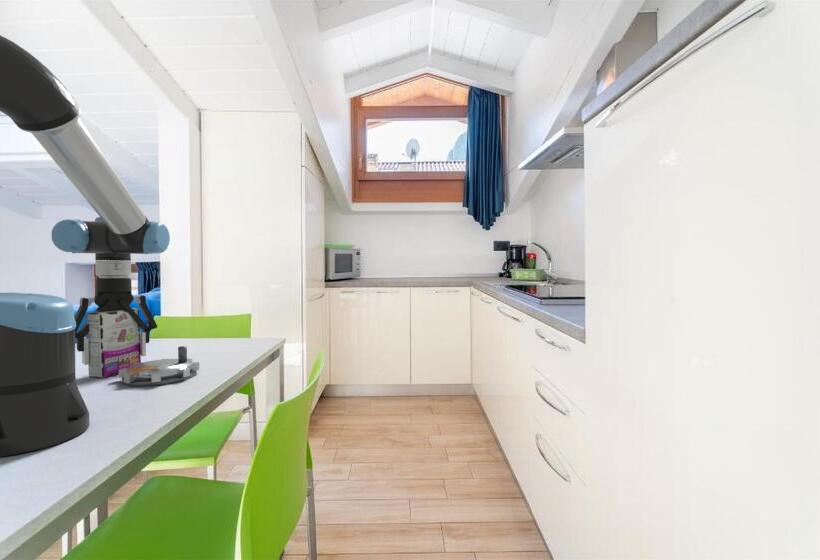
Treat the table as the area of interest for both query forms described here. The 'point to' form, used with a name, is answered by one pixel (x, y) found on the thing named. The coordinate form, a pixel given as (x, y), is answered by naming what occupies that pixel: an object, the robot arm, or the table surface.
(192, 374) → the bearing base
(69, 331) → the robot arm
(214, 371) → the table surface
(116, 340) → the candy bar box
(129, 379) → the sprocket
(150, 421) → the table surface
